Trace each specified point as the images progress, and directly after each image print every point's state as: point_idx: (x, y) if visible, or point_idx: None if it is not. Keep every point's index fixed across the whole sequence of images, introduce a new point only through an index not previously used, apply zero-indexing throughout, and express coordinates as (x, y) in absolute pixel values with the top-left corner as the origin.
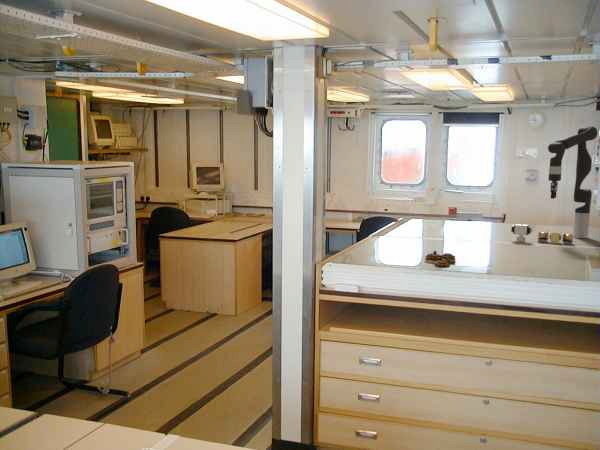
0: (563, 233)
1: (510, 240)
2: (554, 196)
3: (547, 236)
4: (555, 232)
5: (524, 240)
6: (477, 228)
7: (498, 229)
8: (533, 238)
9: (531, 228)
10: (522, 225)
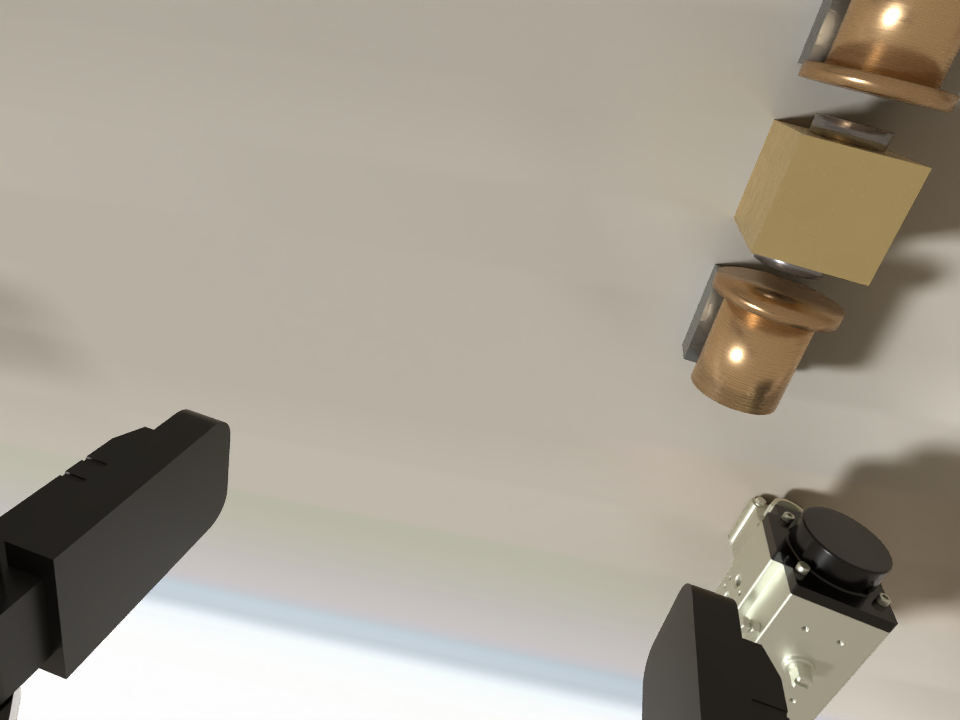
0: (937, 100)
1: None
2: (713, 648)
3: (831, 306)
4: (852, 218)
5: (800, 510)
6: (106, 659)
7: None
8: (488, 363)
9: (824, 542)
10: (853, 671)
